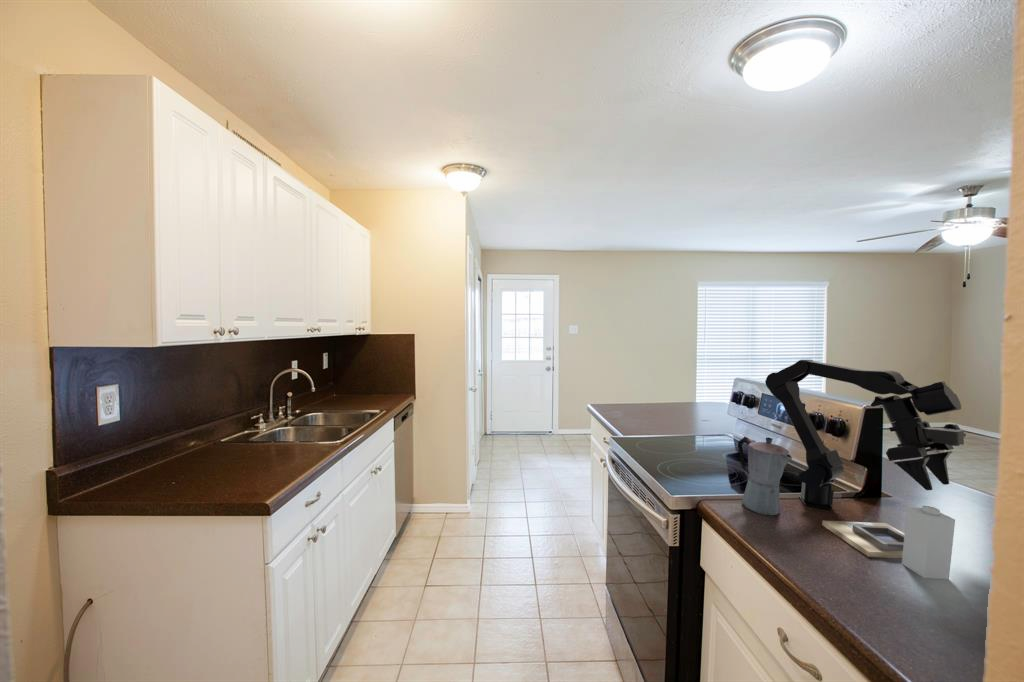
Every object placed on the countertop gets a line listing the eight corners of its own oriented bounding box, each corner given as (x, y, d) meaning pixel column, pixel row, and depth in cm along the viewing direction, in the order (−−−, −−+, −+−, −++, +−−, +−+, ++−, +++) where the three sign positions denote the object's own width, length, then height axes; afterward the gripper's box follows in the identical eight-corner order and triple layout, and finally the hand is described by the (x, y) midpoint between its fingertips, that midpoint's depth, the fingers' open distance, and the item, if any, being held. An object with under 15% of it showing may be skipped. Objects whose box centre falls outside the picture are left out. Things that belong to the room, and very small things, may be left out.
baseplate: (822, 525, 106) (823, 514, 106) (885, 527, 106) (886, 517, 106) (868, 556, 92) (869, 545, 92) (941, 560, 92) (942, 548, 92)
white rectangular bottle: (901, 563, 90) (907, 502, 90) (925, 564, 90) (931, 503, 89) (924, 578, 85) (930, 513, 85) (948, 579, 85) (955, 514, 84)
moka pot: (776, 524, 106) (782, 446, 105) (721, 499, 120) (726, 430, 119) (798, 516, 111) (804, 442, 109) (743, 493, 124) (747, 427, 123)
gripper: (929, 414, 91) (968, 489, 86) (963, 409, 100) (1000, 477, 94) (872, 426, 100) (903, 494, 95) (907, 420, 109) (938, 483, 104)
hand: (938, 487), depth 97 cm, fingers open, 9 cm apart
